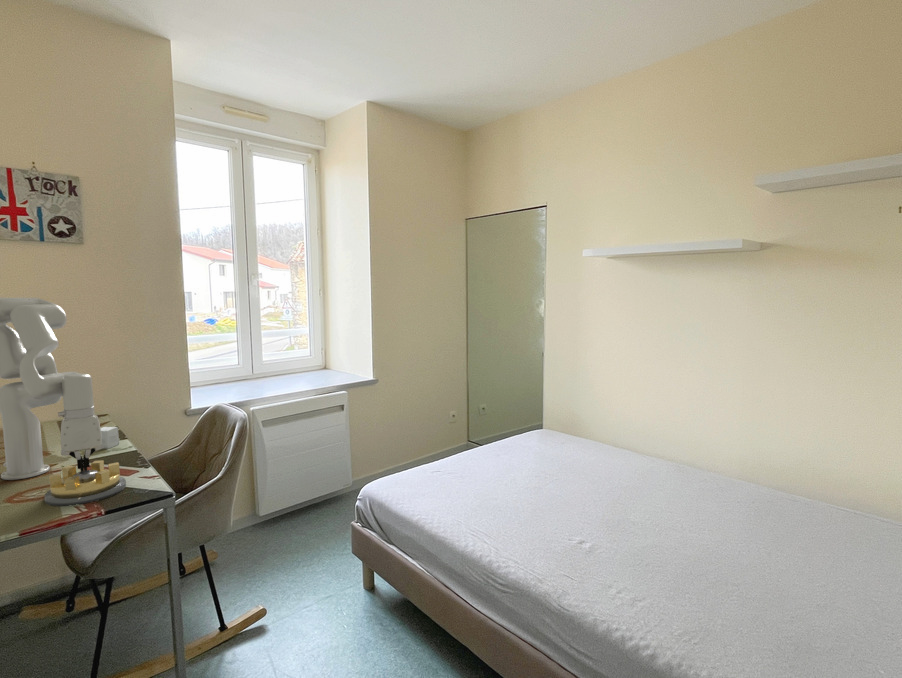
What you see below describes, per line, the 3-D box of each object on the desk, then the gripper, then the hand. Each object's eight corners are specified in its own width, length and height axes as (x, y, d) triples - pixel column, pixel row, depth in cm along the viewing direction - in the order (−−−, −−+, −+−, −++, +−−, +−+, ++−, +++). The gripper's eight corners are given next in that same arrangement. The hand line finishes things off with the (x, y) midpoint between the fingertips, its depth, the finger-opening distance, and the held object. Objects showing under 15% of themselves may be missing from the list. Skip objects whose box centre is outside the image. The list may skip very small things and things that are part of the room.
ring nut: (36, 494, 145) (35, 476, 144) (94, 474, 161) (93, 458, 160) (77, 501, 139) (75, 482, 139) (132, 480, 155) (131, 463, 155)
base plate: (28, 501, 144) (27, 495, 144) (96, 477, 163) (96, 472, 163) (75, 510, 138) (75, 504, 137) (141, 484, 156) (140, 479, 156)
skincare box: (119, 444, 200) (118, 426, 200) (107, 448, 194) (106, 430, 194) (106, 444, 201) (104, 426, 200) (93, 448, 195) (92, 430, 194)
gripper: (49, 419, 146) (54, 479, 147) (109, 411, 156) (113, 467, 157) (48, 415, 152) (53, 472, 153) (107, 407, 161) (110, 462, 163)
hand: (83, 470), depth 155 cm, fingers closed
